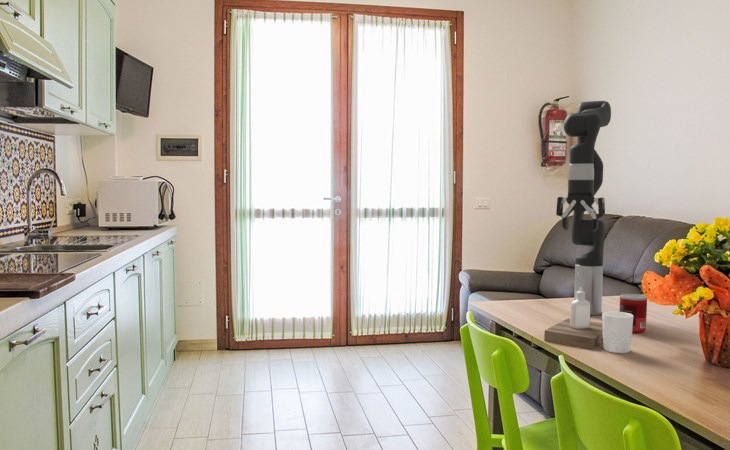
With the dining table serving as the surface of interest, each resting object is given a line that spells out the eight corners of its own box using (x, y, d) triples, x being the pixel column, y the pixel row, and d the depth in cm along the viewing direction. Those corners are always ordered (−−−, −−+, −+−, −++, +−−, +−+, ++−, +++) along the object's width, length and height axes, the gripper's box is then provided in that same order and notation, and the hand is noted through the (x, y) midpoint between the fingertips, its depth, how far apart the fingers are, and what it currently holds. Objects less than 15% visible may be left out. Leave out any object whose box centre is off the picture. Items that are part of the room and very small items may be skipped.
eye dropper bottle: (591, 329, 167) (592, 289, 166) (571, 328, 168) (572, 288, 168) (588, 326, 171) (589, 286, 171) (568, 325, 173) (570, 286, 172)
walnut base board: (567, 327, 182) (568, 318, 182) (614, 334, 173) (614, 324, 173) (544, 340, 167) (544, 330, 166) (593, 349, 158) (594, 338, 158)
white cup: (596, 345, 161) (597, 311, 160) (624, 346, 161) (626, 311, 160) (607, 354, 153) (608, 317, 153) (637, 354, 153) (638, 317, 152)
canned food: (644, 328, 181) (645, 294, 180) (647, 334, 174) (648, 299, 173) (617, 326, 184) (618, 292, 183) (620, 332, 176) (621, 297, 175)
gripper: (608, 178, 176) (607, 230, 177) (562, 178, 185) (561, 228, 186) (601, 178, 170) (599, 232, 171) (554, 178, 179) (553, 230, 180)
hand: (579, 230), depth 179 cm, fingers open, 8 cm apart
